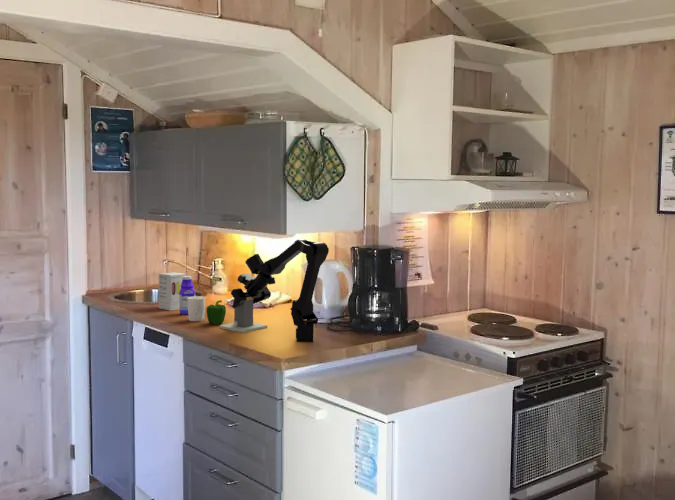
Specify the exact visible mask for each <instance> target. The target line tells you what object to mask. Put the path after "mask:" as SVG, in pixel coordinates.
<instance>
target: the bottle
mask: <svg viewBox="0 0 675 500" xmlns="http://www.w3.org/2000/svg"><path fill="white" fill-rule="evenodd" d="M192 280H193V279H192V276H191V275H186V276H183V277H182V284H181V290H180V292H179V309H178V310H179V313H180V314H181V315H189V314H188V302H187V298H188V297H192V296H196V291H195V288H194V283H193V281H192Z"/></svg>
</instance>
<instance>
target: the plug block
mask: <svg viewBox="0 0 675 500" xmlns="http://www.w3.org/2000/svg"><path fill="white" fill-rule="evenodd" d="M233 310H234V311H233V313H234V318H233V322H234V321H238V326H240V327H247V326H252V325H253V323H254V304H253V298H252V297H250V298H247V300H246V301H245V302H244V304H242V305H240V306H238V307H236V308H233Z"/></svg>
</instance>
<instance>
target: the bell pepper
mask: <svg viewBox="0 0 675 500" xmlns="http://www.w3.org/2000/svg"><path fill="white" fill-rule="evenodd" d="M222 302H223V300H221V299H219V300H217V301H216V302H215V305H214V304H209V305H207V307H206V316H207V317H206V318H207V322H208V323H209V324H212V325H222V324H223V323H224V321H225V318H226V312H227V309H226V308H227V307H226V306H225V305H224V304H222ZM220 303H221V304H220Z"/></svg>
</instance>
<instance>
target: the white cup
mask: <svg viewBox="0 0 675 500" xmlns="http://www.w3.org/2000/svg"><path fill="white" fill-rule="evenodd" d="M187 302H188V314H187V315H188V321H190V322H203V321H205V313H206V297H205V296H201V295H200V296H199V295H195V296H192V297H188V298H187Z"/></svg>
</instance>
